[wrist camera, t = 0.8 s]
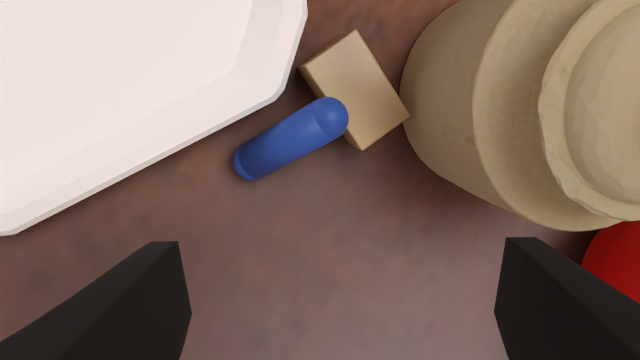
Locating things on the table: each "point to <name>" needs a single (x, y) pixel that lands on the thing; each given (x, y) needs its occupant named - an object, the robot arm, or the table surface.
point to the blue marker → (291, 138)
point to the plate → (126, 88)
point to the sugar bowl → (532, 107)
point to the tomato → (617, 257)
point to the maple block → (355, 88)
